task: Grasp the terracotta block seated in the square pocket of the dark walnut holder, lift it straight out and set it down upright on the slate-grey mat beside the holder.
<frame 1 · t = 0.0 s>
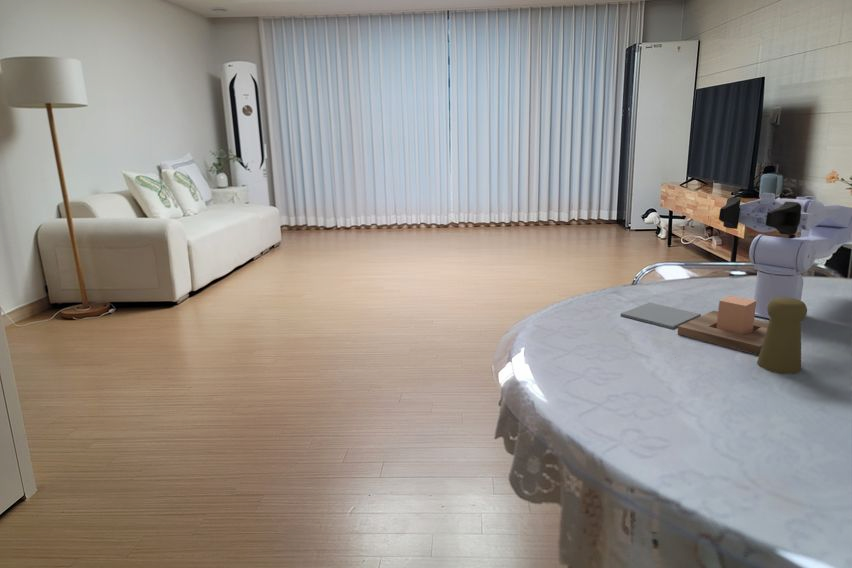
hand: (744, 216, 101), 22 cm above the table, tool horizontal, fingers open, 7 cm apart
block: (733, 335, 107), resting in holder
mat: (660, 316, 118), on the table
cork: (778, 367, 93), on the table
holder: (733, 334, 107), on the table
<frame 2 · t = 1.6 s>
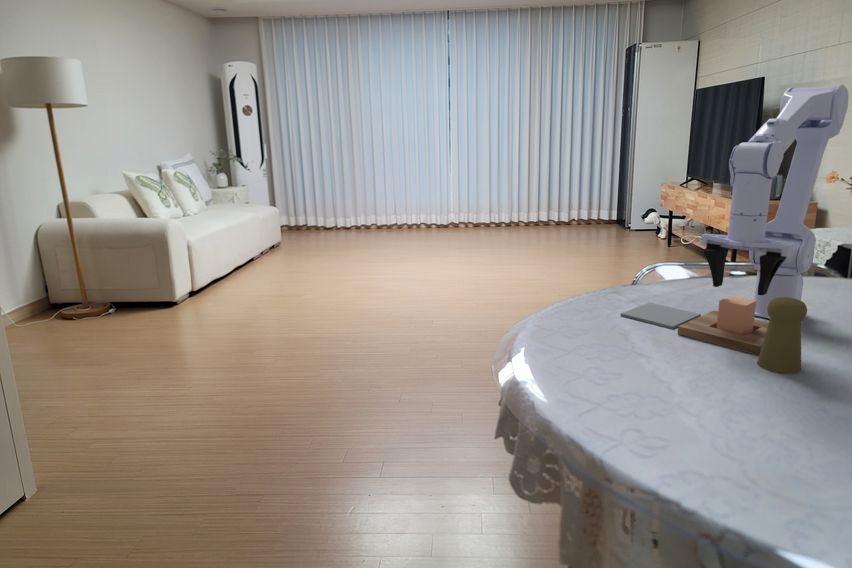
hand: (739, 290, 105), 8 cm above the table, tool pointing down, fingers open, 7 cm apart
nothing on the table moved.
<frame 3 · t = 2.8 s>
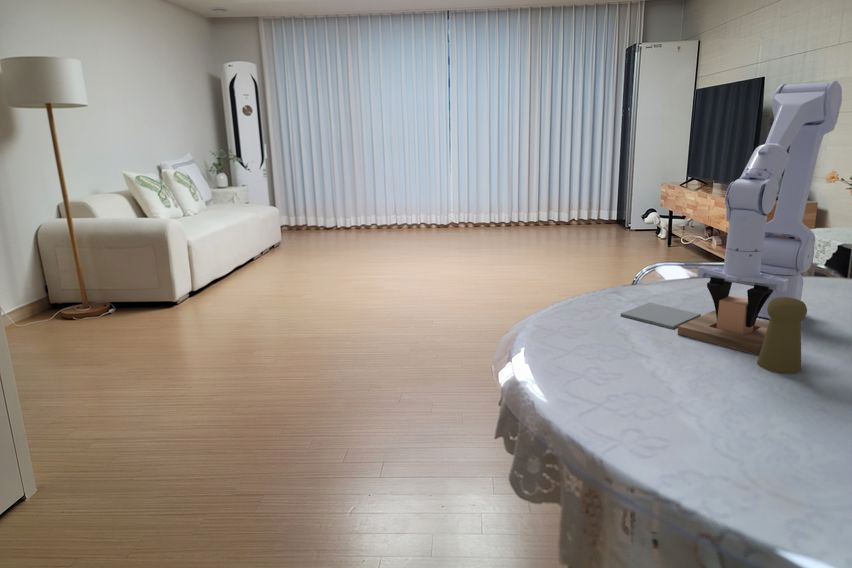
hand: (735, 322, 107), 2 cm above the table, tool pointing down, fingers closed on block, 4 cm apart
block: (733, 334, 107), resting in holder, touching gripper
everything else where it was.
when the fingers open (4 cm above the table, at t = 6.8 s): block drops 1 cm, resting on mat.
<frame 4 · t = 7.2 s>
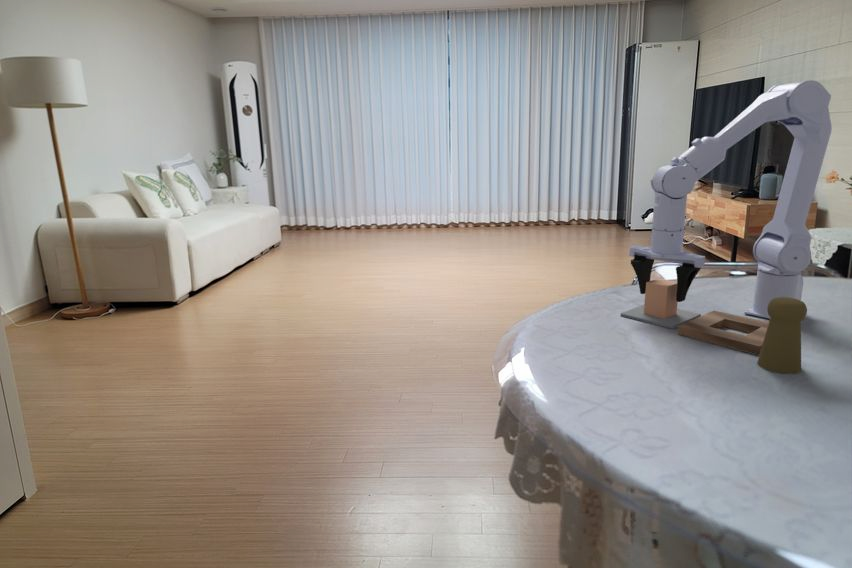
hand: (662, 296, 117), 4 cm above the table, tool pointing down, fingers open, 7 cm apart
block: (660, 313, 118), resting on mat
everything else where it was.
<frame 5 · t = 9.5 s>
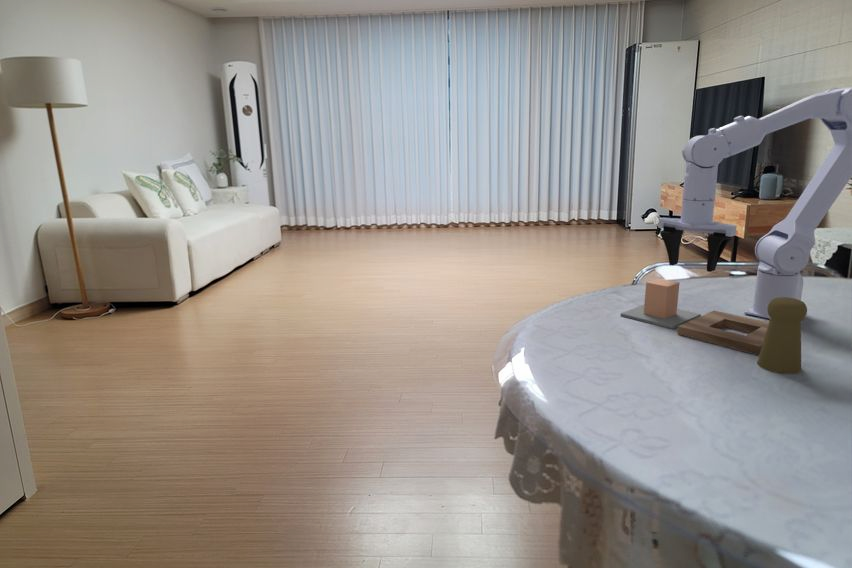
hand: (691, 267, 118), 9 cm above the table, tool pointing down, fingers open, 7 cm apart
nothing on the table moved.
at the end: block inside the target area on the mat (0.1 cm from its centre), point 0.5 cm above the mat's base; block tilted 0°; the gripper is holding nothing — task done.
